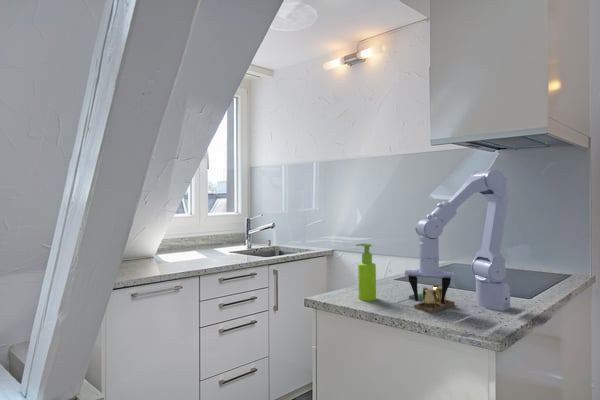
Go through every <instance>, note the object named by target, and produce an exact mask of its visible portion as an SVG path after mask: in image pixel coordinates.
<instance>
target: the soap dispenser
mask: <svg viewBox="0 0 600 400" xmlns="http://www.w3.org/2000/svg"><path fill="white" fill-rule="evenodd" d="M355 245H356V247H359V246H361V247H364V250H363V251H364V252H362V253H361V262H360V263H358V264H357V265H358V269H357V271H358V300H360V301H364V302H371V301H372V302H373V301H376V300H377V272H376V271H377V270H376V269H377V267H376V266H377V265H376V263H375V262H373V254H372V253H371V252H370V247H372V246H373V244H370V243H359V244H355Z"/></svg>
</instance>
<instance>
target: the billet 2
mask: <svg viewBox="0 0 600 400" xmlns="http://www.w3.org/2000/svg"><path fill="white" fill-rule="evenodd" d="M432 289H434V290H436V303H438V304H446V300H447V293H446V294H445V298H444V303H441V297H442V285H441V286H440V285H439V284H436V283H434V284H433V286H432Z"/></svg>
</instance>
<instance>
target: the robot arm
mask: <svg viewBox="0 0 600 400" xmlns="http://www.w3.org/2000/svg"><path fill="white" fill-rule="evenodd" d="M507 184H508V178H507V177H506V175H505V174H504V173H503V172H502V170H499V169H492V170H483V171H475V172H473V173H472V174H471V175H470V176H469V177H467V178H466V180H465V182H464V183H463V185H462V186H461V187H460V188H459V189H458V190H457V191H456V192H455V193H454V194H453V196H451V198H450V199H449V200H448V201H442V202H438V203H437V204H435V205H436V208H434V210H433V211H431V213H427V215H426V218H424V219H421V220H419V221H418V222H417V225H416V227H415V232H416V234H417V235H418V240H419V242H418V244H419V245H418V247H419V248H418V250H419V255H418V256H419V269H412V270H411V269H409V270H408V269H407V270H404V277H405V278H408V282H409V284H410V288H411V289H412V292H413V294H414V295H415V301H414V302H417V301H418V292H419V291H418V278H419V279H420V278H422V279H423V278H424V279H436V280H437V279H440V280H441V286H442V297H441V303H444V298H445V294H446V295H447V291H448V289H449V287H450V285H451V283H452V282H451V281H454V280H455V272H454V271H453V272H451V271H442V270H440V262H439V261H440V257H439V255H440V253H439V249H440V248H439V245H440V244H439V241H440V240H439V237H440V236H441V235H442V234H443V232H444V228H445V227H446V225H447V224H448V223H450V221H451V220H453V218H455V217H456V215H457V213H458V212H457V209H459V207H461V205H463V204H464V203H465V202H466V201H468V199H470V198H471V197H472V196H473V195H474V194H476V193H479V194H480V195H481V196H484V198H485V199H486V201H487V202H488V204H487V208H486V216H485V222H484V229H483V234H482V241H481V247H480V249H479V250H477V251H476V253H475V256H474V258H473V261H472V262H471V264H470V271H471V272H472V274H473V275H474V279H475V304H476V305H477V306H479V307H484V308H485V309H488V310H489V309H490V310H494V311H499V312H505V311H506V310H509V309H510V308H511V287H510V284H509V283H507V282H503V280H504V279H505V277H506V275H507V268H506V258H505V257H504V256H503V254H502V253H501V248H502V242H503V241H502V240H503V235H504V227H505V220H506V215H507V210H508V209H507V208H508V201H509V195H508V189H507Z"/></svg>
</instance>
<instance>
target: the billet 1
mask: <svg viewBox="0 0 600 400" xmlns="http://www.w3.org/2000/svg"><path fill="white" fill-rule="evenodd" d="M422 293H423V306H425V307H429V308H435V307H436V290H434V289H433V288H429V287H423V288H422Z"/></svg>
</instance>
